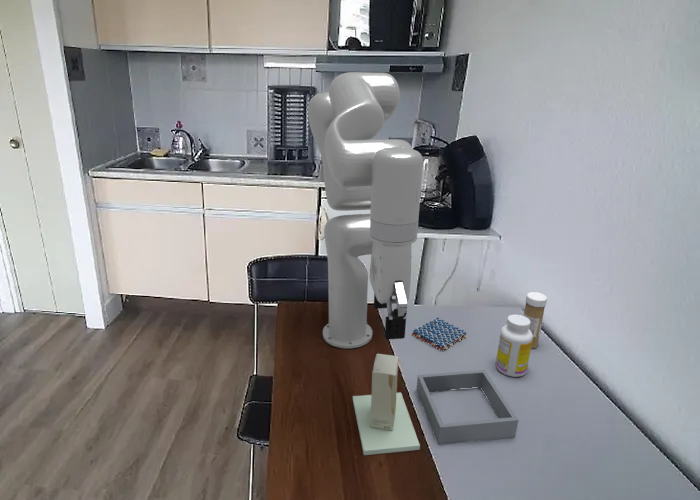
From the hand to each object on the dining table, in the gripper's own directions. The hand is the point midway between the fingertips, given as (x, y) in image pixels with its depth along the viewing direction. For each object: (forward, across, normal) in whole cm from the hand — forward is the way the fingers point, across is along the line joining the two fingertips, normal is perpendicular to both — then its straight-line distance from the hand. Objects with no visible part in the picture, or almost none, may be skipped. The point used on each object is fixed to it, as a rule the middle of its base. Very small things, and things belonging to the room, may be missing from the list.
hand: (388, 321), depth 76 cm
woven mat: (+23, -27, +20) cm, 41 cm away
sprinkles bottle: (+22, -21, +41) cm, 51 cm away
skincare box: (+21, 0, 0) cm, 21 cm away
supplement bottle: (+22, -12, +32) cm, 41 cm away
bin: (+22, 0, +16) cm, 27 cm away
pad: (+22, +1, 0) cm, 22 cm away
